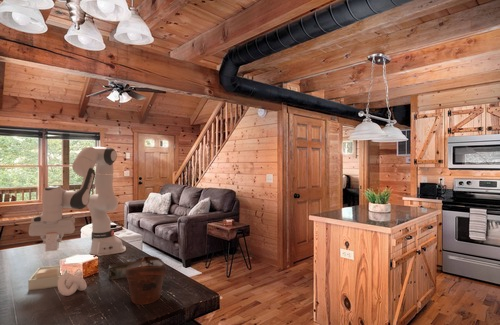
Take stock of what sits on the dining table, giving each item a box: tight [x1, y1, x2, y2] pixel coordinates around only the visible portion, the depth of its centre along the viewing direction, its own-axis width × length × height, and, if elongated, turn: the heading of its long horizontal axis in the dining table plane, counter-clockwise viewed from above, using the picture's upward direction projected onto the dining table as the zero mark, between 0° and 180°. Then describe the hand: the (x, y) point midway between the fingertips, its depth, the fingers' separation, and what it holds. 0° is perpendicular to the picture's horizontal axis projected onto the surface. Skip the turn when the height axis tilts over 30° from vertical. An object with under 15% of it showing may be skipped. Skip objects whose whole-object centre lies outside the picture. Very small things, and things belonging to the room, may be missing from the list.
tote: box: [27, 264, 67, 291], centre depth 152 cm, size 14×18×5 cm
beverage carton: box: [108, 260, 135, 280], centre depth 162 cm, size 8×19×7 cm, turn 115°
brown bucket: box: [124, 255, 168, 306], centre depth 136 cm, size 18×20×18 cm
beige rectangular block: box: [36, 268, 60, 279], centre depth 148 cm, size 9×6×7 cm, turn 112°
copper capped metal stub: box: [45, 232, 60, 252], centre depth 156 cm, size 5×5×9 cm
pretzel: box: [57, 269, 88, 297], centre depth 141 cm, size 11×12×9 cm
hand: (52, 242), depth 156 cm, fingers closed on copper capped metal stub, 5 cm apart
